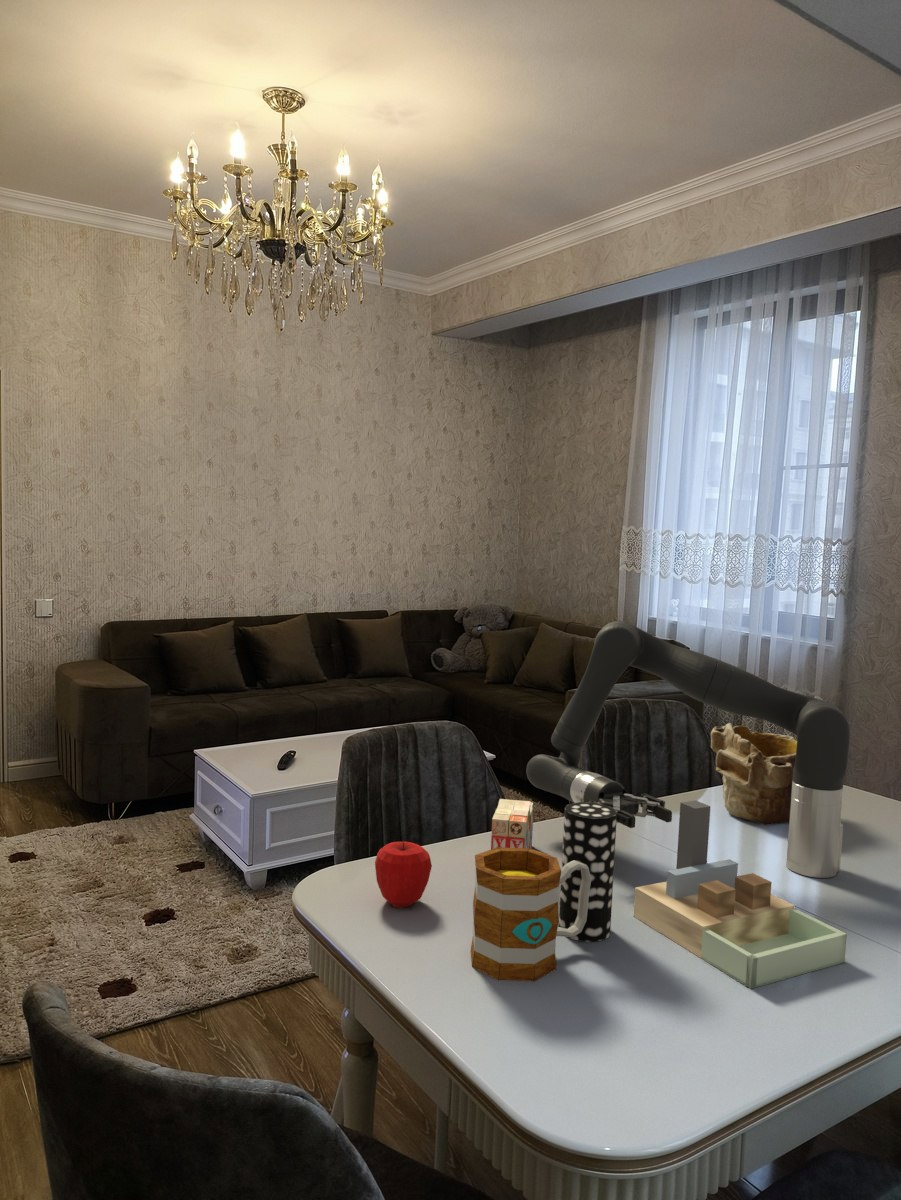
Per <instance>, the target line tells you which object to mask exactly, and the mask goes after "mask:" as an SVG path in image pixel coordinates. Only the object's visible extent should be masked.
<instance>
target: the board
mask: <svg viewBox="0 0 901 1200" xmlns="http://www.w3.org/2000/svg"><path fill="white" fill-rule="evenodd" d="M666 885H667V880H666V881H662V882H657V883H652V884H647V885H642V886H636V887H635V888H634V900H633V901H634V903H633V904H634V905H633V917H635V918H636V919H637V920H639V921H640V922H642V923H644V924H645V925H647V926H648V927H650V928H652V929H654V930H655V931H657V932H658V933H660V934H661V935H663V936H664V937H666V938H668V939H670V940H671V941H673V942H674V943H676V944H677V945H679V946H680V947H682V948H684V949H685V950H687V951H688V952H689V953H690V952H691V953H692V954H694V955H695V956H697V957H698V958H700V959H702V958H701V950H702V934H703V930H704V929H709V930H711V931H712V932H714V933H716V934H718V935H719V936H721V937H723V938H725V939H726V940H728V941H730V942H732V943H733V944H735V945H737V946H741V945H745V944H749V943H753V942H757V941H761V940H765V939H769V938H773V937H777V936H781V935H784V934H788V931H789V917H790V909H793V908H795V904H793V903H790V902H788V901H787V900H785V899H782V898H780V897H779V896H776V895H774V894H772V893H771V898H770V906H767V907H762V908H758V909H754V910H752V909H750V908H748V907H746V906H744V905H742V904H740V903H738V902H736V901H735V906H734V914H732V915H727V916H723V917H719V918H714V917H712V916H710V915H708V914H707V913H705V912H703V911H701V910H699V909H698V908H697V903H698V894H696V895H691V896H686V897H681V898H677V899H673V898H672V897H670V896H668V895H666ZM731 888H733V889H734V888H735V886H734V887H731Z"/></svg>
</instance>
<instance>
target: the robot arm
mask: <svg viewBox="0 0 901 1200" xmlns="http://www.w3.org/2000/svg"><path fill="white" fill-rule="evenodd" d="M629 667H632V668H636V669H638V670H642V671H644V672H647V673H650V674H652V675H653V676H657V677H658V678H661V679H662V680H664V681H665V682H667V683H668V684H670V685H671V686H672V687H674V688H676V689H677V690H678V691H680V692H682V693H683V694H685V695H686V696H688V697H690V698H692V699H693V700H696V701H698V702H700V703H703V704H705V705H708V706H711V707H713V708H716V709H717V710H721V711H723V712H727V713H731V714H734V715H735V714H736V715H739V716H743V717H750V718H755V719H759V720H763V721H765V722H769V723H771V724H774V725H776V726H778V727H780V728H782V729H785V730H786V731H788V732H790V733H791V734H794V735H796V736H797V738H796V741H797V748H796V760H795V765H794V768H793V779H792V793H791V808H790V821H789V822H788V823H789V824H788V837H787V849H786V850H787V851H786V863H785V864H786V867H787V868H788V869H789V870H790V871H792V872H793V873H796V874H799V875H802V876H805V877H810V878H811V877H812V878H816V879H817V878H818V879H820V878H821V879H827V878H832V877H835V876H836V875H837V872H840V869H841V857H842V846H843V845H842V843H843V834H844V833H843V832H844V825H843V823H841V821H842V820H841V819H842V810H843V809H842V808H843V793H844V781H845V777H846V774H847V768H848V759H849V750H850V749H849V748H850V747H849V746H850V735H851V734H850V733H851V732H850V731H851V730H850V724H849V721H848V719H847V718H846V716H845V715H844V713H843V712H842V711H841V710H840V708H839V707H837V706H836V705H835V704H833V703H832V702H829V701H827V700H824V699H823V700H822V699H819V698H815V697H812V696H809V695H804V694H801V693H797V692H795V691H791V690H788V689H785V688H783V687H780V686H778V685H775V684H773V683H771V682H770V681H767V680H765V679H763V678H761V677H760V676H757V675H755V674H753V673H751V672H748V671H746V670H744V669H742V668H740V667H737V666H735V665H733V664H730V663H728V662H725V661H722V660H720V659H718V658H714V657H712V656H709V655H707V654H703V653H700V652H698V651H695V650H691V649H688V648H685V647H683V646H678V645H675V644H672V643H669V642H668V641H665V640H663V639H661V638H659V637H657V636H656V635H652V633H648V632H647V631H645V630H643V629H641V628H640V627H637V626H635V625H633V624H632V623H630V622H626V621H623V620H615V621H612V622H611V621H610V622H608V623H607V624H605V625H604V626H603V627H602V628H601V629H600V630H599V631H598V633H596V636H595V638H594V643H593V647H592V651H591V654H590V657H589V661H588V664H587V667H586V670H585V672H584V674H583V677H582V678H581V681H580V683H579V684H578V687H577V688H576V690H575V692H574V694H573V696H572V697H571V699H570V700H569V702H568V703H567V706H566V707H565V709H564V710H563V713H562V715H561V716H560V718H559V720H558V723H557V724H556V726H555V728H554V731H553V733H552V734H551V737H550V742H551V744H552V746H553V747H554V748H555V749H556V750H558V751H559V752H560V754H559V755H558V757H556V756H553V755H548V754H542V753H541V754H536V755H534V756H533V757H532V758H530V760H528V762H527V764H526V771H525V773H526V777H527V779H528V781H529V782H530V784H531V785H533V786H534V787H535V788H537V789H540V790H543V791H544V792H549V793H551V794H555V795H558V796H560V797H562V798H565V799H566V800H568V801H569V802H571V803H577V802H591V803H598V804H603V805H607V806H609V807H612V808H613V809H615V810H616V811H617V821H616V824H621V825H623V826H626V828H629V829H633V828H635V827H636V817H638V818H639V817H641V818H646V817H647V816H648V817H654V818H656V819H659V820H661V821H663V822H666V823H671V822H672V820H673V812H672V810H671V809H668V808H667V807H665V806H666V805H665V804H666V801H664V800H662V799H660V798H657V797H654V796H652V795H650V794H648V793H645V792H644V793H641V794H640V796H635V795H633V794H632V793H631V794H630V793H627V791H626V789H625V787H624V786H623V784H621V783H620V782H617V781H616V780H613V779H611V778H608V777H606V776H603V775H601V774H599V773H596V772H592V771H590V770H587V769H584V768H581V767H579V765H580V761H581V755H582V752H583V749H584V747H585V745H586V743H587V741H588V739H589V737H590V735H591V733H592V731H593V730H594V727H595V726H596V723H597V721H598V719H599V717H600V714H601V713H602V709H603V708H604V706H605V704H606V703H605V702H606V701H607V698H608V696H609V694H610V693H611V691H612V690H613V688H614V686H615V685H616V683H617V682H618V680H620V678H621V676H622V675H623V674H624V673H625V671H626V670H627V669H628V668H629ZM640 808H641V809H642V810H641V811H640Z"/></svg>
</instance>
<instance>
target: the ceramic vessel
mask: <svg viewBox="0 0 901 1200" xmlns="http://www.w3.org/2000/svg"><path fill="white" fill-rule="evenodd" d="M710 748H711V749H712V751H713V752H714V753H715V754H716V757H715V771H716V772H718V773H720V774H722V783H723V784H722V798H723V800H724V801H723V802H724V803H723V804H724V807H725V809H726V811H727V812H728V813H729V814H730V815H731V816H733V817H736V818H740V819H744V820H747V821H751V822H755V823H758V824H763V825H766V826H767V825H768V826H769V825H777V824H779V825H780V824H785V823H789V821H790V808H791V793H792V779H793V768H794V765H795V760H796V748H797V739H795V737H793V736H791V735H785V734H784V735H783V734H780V733H776V734H775V733H768V732H767V733H762V732H758V731H753V732H751V730H750V728H749V727H748V726H745V725H736V726H734V725H733V724H732V723H730V722H729V723H727V724H725V725H719V726H718V725H716V726H714V727H713V728H712V730H711V732H710Z"/></svg>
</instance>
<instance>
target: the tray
mask: <svg viewBox="0 0 901 1200" xmlns="http://www.w3.org/2000/svg"><path fill="white" fill-rule="evenodd" d="M847 937H848V936H847V933H845V932H844V931H841V930H839V929H837V928H835V927H833V926H831V925H829V924H827V923H825V922H823V921H822V920H820V919H817V918H815V917H813V916H811V915H809V914H807V913H806V912H802V911H801V910H799V909H798V908H797V909H796V908H795V907H794V908H793V909H790V917H789V931H788V934H784V935H781V936H777V937H773V938H769V939H765V940H761V941H757V942H753V943H749V944H745V945H741V946H737V945H735V944H733V943H732V942H730V941H728V940H726V939H725V938H723V937H721V936H719V935H718V934H716V933H714V932H712V931H711V930H709V929H704V930H703V934H702V950H701V958H700V959H702V960H703V961H704V962H706V963H708V964H710V965H712V966H713V967H714V968H716V969H718V970H720V971H721V972H722V973H723V974H726V975H727V976H729V977H731V978H732V979H734V980H735V981H737V982H739V983H740V984H742V985H743V986H744V987H747V988H748V989H750V990H752V989H756V988H759V987H762V986H766V985H770V984H772V983H776V982H781V981H784V980H788V979H790V978H794V977H797V976H801V975H804V974H807V973H811V972H814V971H819V970H823V969H826V968H829V967H833V966H835V965H839V964H843V963H845V961H846V949H847Z"/></svg>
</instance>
